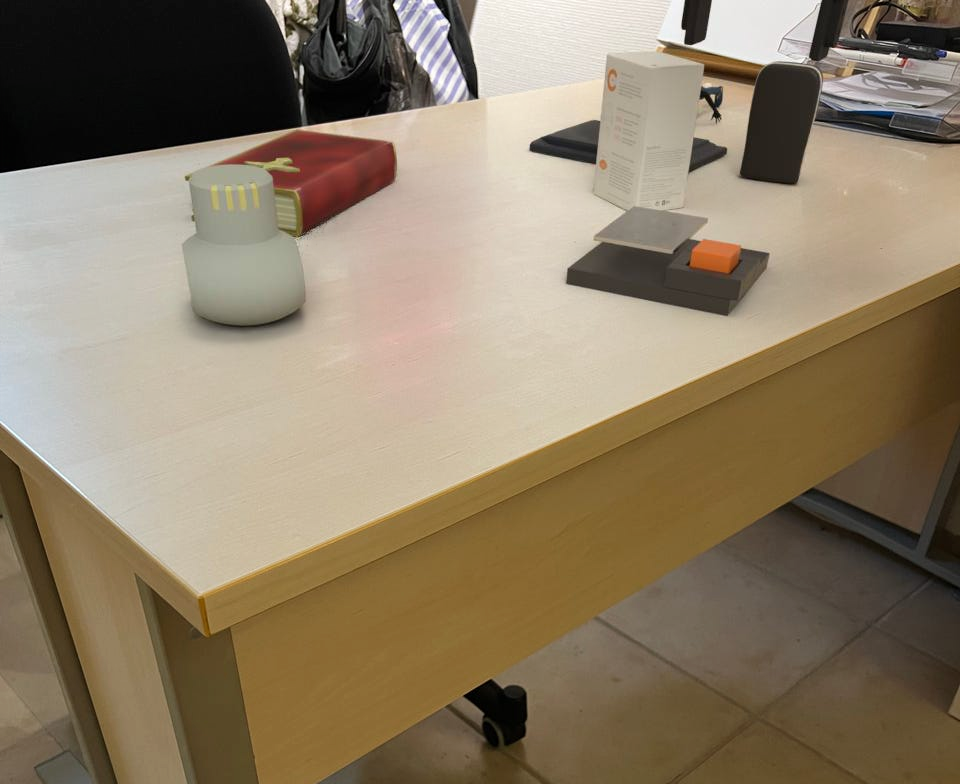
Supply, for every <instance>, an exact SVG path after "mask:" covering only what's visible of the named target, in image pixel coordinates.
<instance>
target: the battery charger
mask: <svg viewBox="0 0 960 784" xmlns="http://www.w3.org/2000/svg"><path fill="white" fill-rule="evenodd" d="M822 71H823V70H822V69H821V68H820V67H819V66H817V65H815V64H811V63H804V62H797V61H793V62H792V61H781V60H780V61H772V62H769V63H767V64H765V65H764V66H763V67H762V68H761V69H760V70H759V72H758V74H757V77H756V80H755V83H754V88H753V93H752V98H751V103H750V108H749V112H748V113H749V114H748V122H747V127H746V135H745V143H744V148H743V153H742V159H741V164H740V170H739V176H740V177H743V178H747V179H753V180H759V181H765V182H774V183H781V184H798V183H800V181H801V180H800V179H801V175H802V169H803V164H804V161H805V156H806V153H807V149H808V145H809V141H810V138H811V134H812V132H813V131H812V130H813V127H814V123H815V120H816V118H817V113H818V110H819V105H820V101H821V95H822V91H823V85H824V74H823V72H822Z"/></svg>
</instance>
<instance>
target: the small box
mask: <svg viewBox="0 0 960 784" xmlns="http://www.w3.org/2000/svg"><path fill="white" fill-rule="evenodd" d="M704 70H705V64H704V63H702V62H698V61H694V60H690V59H686V58H683V57H680V56H676V55H672V54H669V53H666V52H665V53H664V52H662V51H658V50H656V51H655V50H653V51H631V52H628V51H627V52H609V53H607V54H606V61H605V71H604V79H603V80H604V81H603V90H602V101H601V111H600V119H599V121H600V130H599V140H598V150H597V160H596V164H595V170H594V171H595V172H594V180H593V181H594V182H593V189H592V193H593V195H595V196H597V197H599V198H601V199H603V200H604V201H607V202H609V203H610V204H613V205H614V206H617V207H619V208H621V209H623V210H624V211H626V212H627V211H628V210H629V209H631V208H632V207H633V206H637V207H643V208H649V209H655V210H661V211H670V210H677V209H682V208H684V204H685V197H686V191H687V183H688V177H689V172H690V171H689V165H690V158H691V151H692V145H693V138H694V137H695V132H696V124H697V118H698V111H699V105H700V104H699V103H700V100H699V98H700V92H701V86H703V85H702V84H703V78H704ZM688 171H689V172H688Z"/></svg>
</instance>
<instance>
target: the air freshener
mask: <svg viewBox="0 0 960 784" xmlns="http://www.w3.org/2000/svg"><path fill="white" fill-rule="evenodd" d="M209 166H210V165H209ZM205 167H206V168H205ZM205 167H202V168H200V169H197V170H195V171H194V173H193V172H192V173H193V174H192V175H191V177H190V178H189V181H188V185H189V186H188V187H189V192H190V199H191V205H192V211H193V212H192V213H193V215H194V219H195V221H194V225H195V226H194V227H195V231H196V233H194V234H193V235H191V236H189V237H188V238H186V239H185V240H184V241H183V242H182V243H181V248H182V253H183V259H184V265H185V271H186V276H187V283H188V289H189V295H190V300H191V306H192V312H193V313H194V314H196V315H197V316H200V317H201V318H204V319H207V320H208V321H212V322H215V323H218V324H222V325H228V326H238V327H241V326H242V327H244V326H245V327H250V326H259V325H265V324H269V323H273V322H277V321H279V320H282V319H283V318H285V317H287V316H289V315H291V314H293V313H295V312H296V311H297V310H299V309H300V308H301V307H302V306H303V305H304V304H305V303H306V300H307V289H306V281H305V273H304V266H303V261H302V258H301V253H300V249H299V246H298V243H297V240H296V239H295V236H291V235H290V234H288V233H286V232H284V231H282V230H279V229H278V220H277V212H276V203H275V194H274V186H273V178H272V176H271V175H270V174H269V173H268V172H267V171H266V170H265V169H262V168H260V167H256V166H250V165H236V164H234V165H217V166H210V167H208V166H205Z"/></svg>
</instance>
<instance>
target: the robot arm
mask: <svg viewBox="0 0 960 784" xmlns="http://www.w3.org/2000/svg"><path fill="white" fill-rule="evenodd" d="M712 3H713V0H684V3H683V8H682V15H681V22H680V28H681V31H685V32H684V39H683V44H684V45H685V46H694V45H697V44H700V43H702V42H703V41H706V38H707V33H708V27H709V23H710V21H709V20H710V15H711V10H712ZM848 4H849V0H821V1H820V5H819V10H818V13H817V19H816V23H815V27H814V32H813V36H812V41H811V45H810V50H809V53H808V59H810V61H811V62H820V61H823V60H825V58H827V57H828V55H829V51H830V49H836V48H837V46H838V43H839V41H840V37H841V32H842V29H843V25H844V21H845V17H846V12H847V8H848Z"/></svg>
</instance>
